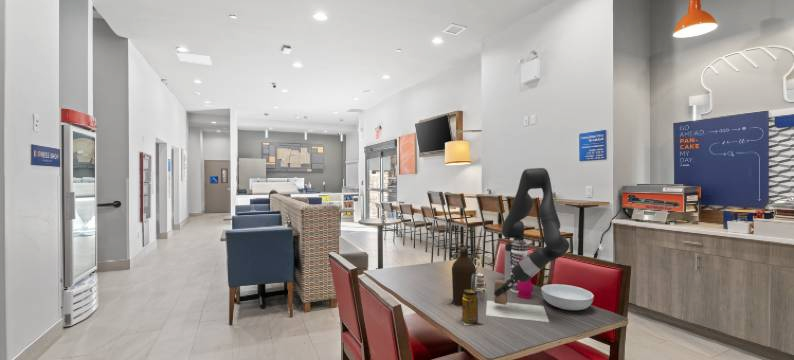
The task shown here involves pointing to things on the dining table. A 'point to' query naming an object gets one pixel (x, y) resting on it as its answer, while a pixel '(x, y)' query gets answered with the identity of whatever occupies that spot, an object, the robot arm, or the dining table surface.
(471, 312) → the condiment
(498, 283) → the walnut block
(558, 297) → the serving bowl
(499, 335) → the dining table surface
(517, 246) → the decorative candle
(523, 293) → the pepper mill
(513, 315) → the rubber mat
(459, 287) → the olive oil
